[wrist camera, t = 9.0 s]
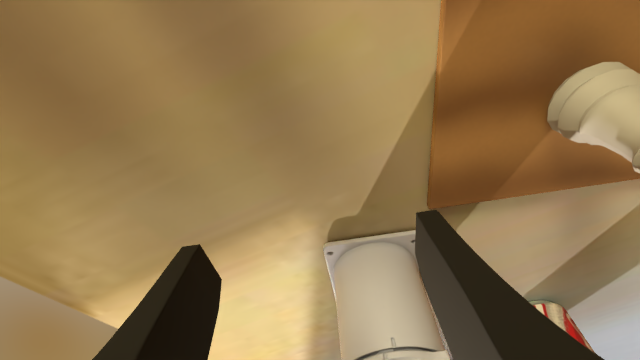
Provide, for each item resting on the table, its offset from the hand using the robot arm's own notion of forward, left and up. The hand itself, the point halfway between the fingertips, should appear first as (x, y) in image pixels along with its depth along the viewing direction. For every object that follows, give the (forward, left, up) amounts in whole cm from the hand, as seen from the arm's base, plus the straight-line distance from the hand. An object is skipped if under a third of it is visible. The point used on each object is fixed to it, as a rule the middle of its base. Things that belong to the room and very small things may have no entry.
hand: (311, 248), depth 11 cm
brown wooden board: (-2, -16, -10) cm, 19 cm away
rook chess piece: (-2, -16, -10) cm, 19 cm away
